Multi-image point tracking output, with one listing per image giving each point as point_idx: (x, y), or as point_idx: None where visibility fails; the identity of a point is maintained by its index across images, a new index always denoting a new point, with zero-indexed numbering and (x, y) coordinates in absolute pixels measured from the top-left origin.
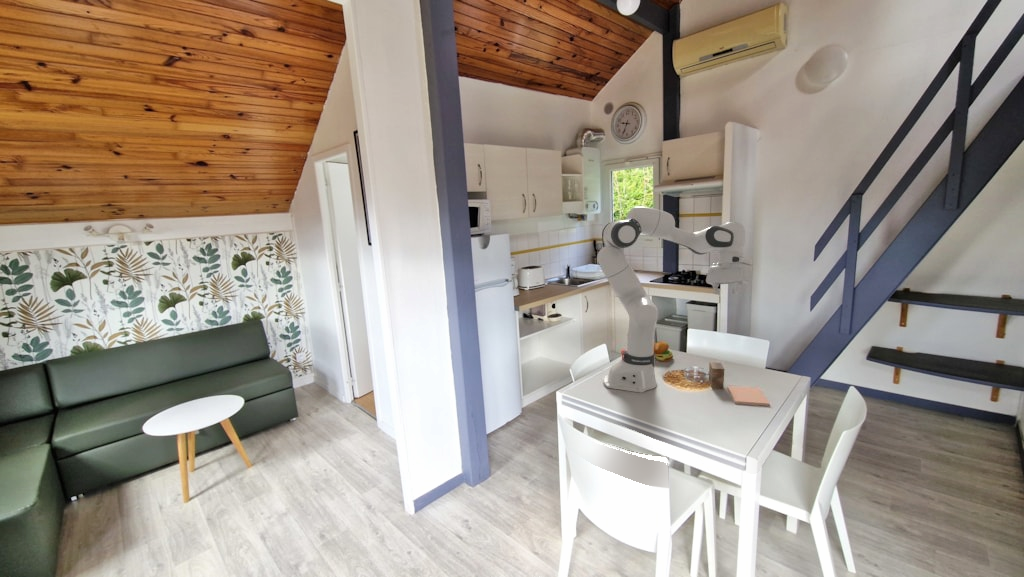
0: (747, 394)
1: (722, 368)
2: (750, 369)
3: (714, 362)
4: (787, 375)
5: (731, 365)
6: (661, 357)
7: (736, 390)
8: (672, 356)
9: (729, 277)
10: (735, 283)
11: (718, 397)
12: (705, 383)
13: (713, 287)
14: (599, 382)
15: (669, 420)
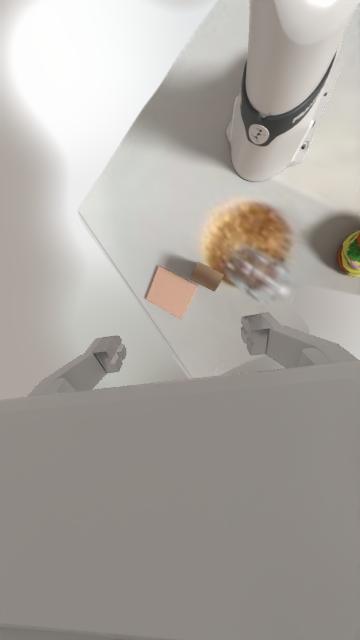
0: (169, 292)
1: (192, 277)
2: (238, 356)
3: (219, 281)
4: None
5: None
6: (350, 238)
7: (182, 287)
8: (346, 270)
9: (62, 443)
10: (58, 387)
11: (178, 256)
12: (220, 266)
13: (306, 336)
14: None
15: (139, 150)
